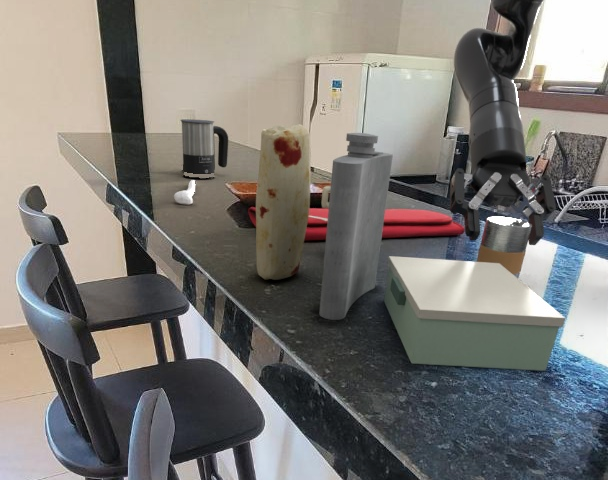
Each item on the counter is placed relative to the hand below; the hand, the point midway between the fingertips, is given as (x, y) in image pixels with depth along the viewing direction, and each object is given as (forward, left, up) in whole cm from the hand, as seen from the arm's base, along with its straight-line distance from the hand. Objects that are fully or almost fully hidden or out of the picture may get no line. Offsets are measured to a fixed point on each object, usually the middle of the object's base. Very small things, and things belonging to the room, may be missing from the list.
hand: (505, 240), depth 73 cm
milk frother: (+57, -90, -8) cm, 107 cm away
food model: (+31, -1, -8) cm, 32 cm away
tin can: (0, 0, -8) cm, 8 cm away
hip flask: (+22, +7, -8) cm, 24 cm away
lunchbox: (+10, +16, -7) cm, 20 cm away
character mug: (+20, -13, -8) cm, 25 cm away
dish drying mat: (+16, -33, -8) cm, 38 cm away
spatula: (+54, -60, -8) cm, 81 cm away
